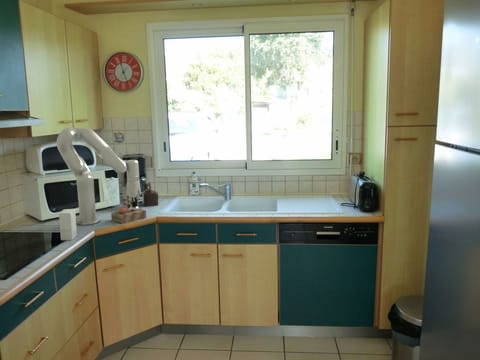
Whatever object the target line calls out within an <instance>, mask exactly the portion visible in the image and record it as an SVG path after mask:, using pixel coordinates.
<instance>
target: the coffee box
mask: <svg viewBox="0 0 480 360" xmlns="http://www.w3.org/2000/svg"><path fill="white" fill-rule="evenodd" d="M121 194H122V208H126V209H131V207H132V201H131V198H130V197H129V196H127V185H124V186H121Z"/></svg>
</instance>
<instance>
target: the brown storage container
mask: <svg viewBox="0 0 480 360" xmlns="http://www.w3.org/2000/svg"><path fill="white" fill-rule="evenodd" d="M142 186H143V189H144V190H143V191H141V198H142V205H143V206H144V207H156V206H159V193H158V192H157V190H153V189H152V186H151V182H148V183H147V182H144V183H143V184H142Z"/></svg>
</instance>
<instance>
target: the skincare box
mask: <svg viewBox="0 0 480 360" xmlns="http://www.w3.org/2000/svg"><path fill="white" fill-rule="evenodd" d="M76 218H77V215H76V208H67V209H62V210H61V211H60V212H59V213H58V220H59V231H60V241H73V240H74V239H76V237H77V236H78V233H77V232H78V231H77V230H78V229H77V222H76ZM72 239H73V240H72Z"/></svg>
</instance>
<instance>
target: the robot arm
mask: <svg viewBox="0 0 480 360" xmlns="http://www.w3.org/2000/svg"><path fill="white" fill-rule="evenodd" d="M73 142H80V143H81V142H82V143H83V142H84V143H85V144H86V145H87V146H88V147H89V148H90V149H91V150H92V151H94V152H95V154H97V156H99V157H100V158H101V159H102V160H103V161H104V162H105V163H106V164H107V165H108V166H109V167H110V168H111V169H112V170H114V171H115V172H116V173H117V174H120V175H121V174H124V173H125V172H126V180H127V181H126V186H127V196H129V197H130V198H131V201H132V207H138V208H139V200H141V197H142V190H141V184H140V170H139V161H138V160H137V159H129V160H125V159H124V160H123V159H121V158H120V157H119V156H118V155H117V154H116V153H115V152H114V150H112V148H111V147H110V145H109V144H107V143H106V142H105V141H104V140H103V139H102V137H100V136H99V135H98V134H97V133H96V132H95V131H94V129H91V128H84V127H83V128H81V127H80V128H79V127H71V126H70V127H64V128H63V129H62V130H61V131H60V132H59V133H58V135H57V139H56V147H57V150H58V151H59V153H60V155H61V157H62V159H63V161H64V162H65V164H66V166H67V167H68V169H69V171H71V172H72V173H73V175H74V176H75V178H76V187H77V188H76V189H77V200H78V209H79V211H78V213H79V215H78V216H77V217H76V223H77V224H78V225H80V226H91V225H95V224H97V223H99V222H100V219H99V218H97V212H96V211H97V209H96V198H95V185H94V184H95V181H94V176H93V173H92V171H91V169H90V168H89V167H88V165H87V163H86V161H85V160H84V158H83V157H82V156H80V155H79V154H78V152H77V150H76V149H75V147H74V145H73Z"/></svg>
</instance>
